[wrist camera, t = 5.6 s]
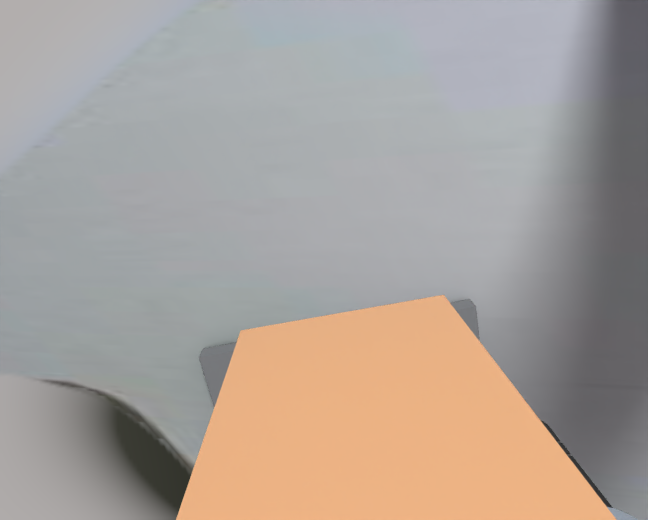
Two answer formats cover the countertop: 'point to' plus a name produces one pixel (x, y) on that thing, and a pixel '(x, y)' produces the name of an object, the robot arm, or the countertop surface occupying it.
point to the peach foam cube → (378, 428)
